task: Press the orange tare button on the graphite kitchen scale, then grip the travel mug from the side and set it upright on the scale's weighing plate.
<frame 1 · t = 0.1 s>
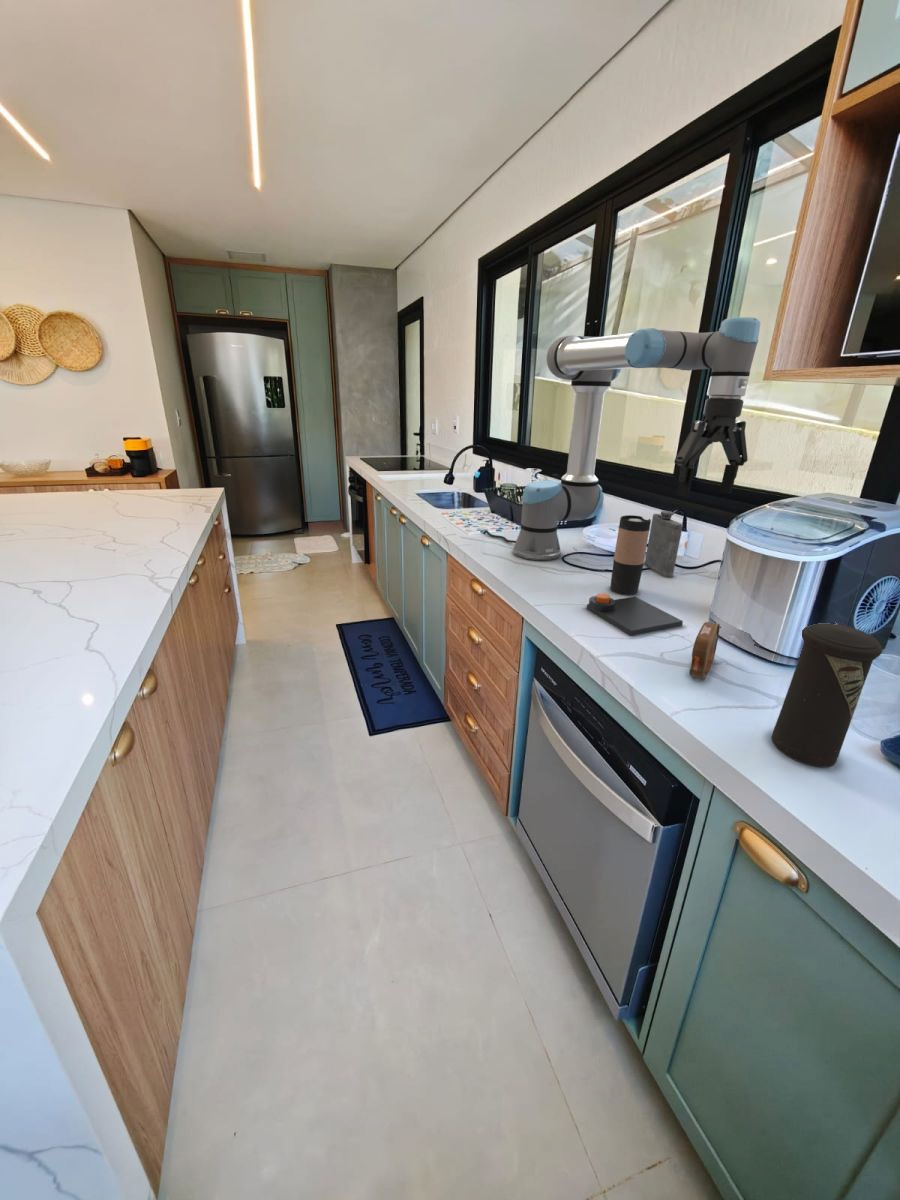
hand: (704, 494, 119), 28 cm above the countertop, tool pointing down, fingers open, 13 cm apart
scale: (632, 617, 121), on the countertop
container: (801, 750, 77), on the countertop
tare button: (602, 598, 122), point 3 cm above the countertop, slide at 0.1 cm
travel mug: (623, 591, 137), on the countertop
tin: (700, 669, 99), on the countertop
flask: (656, 570, 155), on the countertop
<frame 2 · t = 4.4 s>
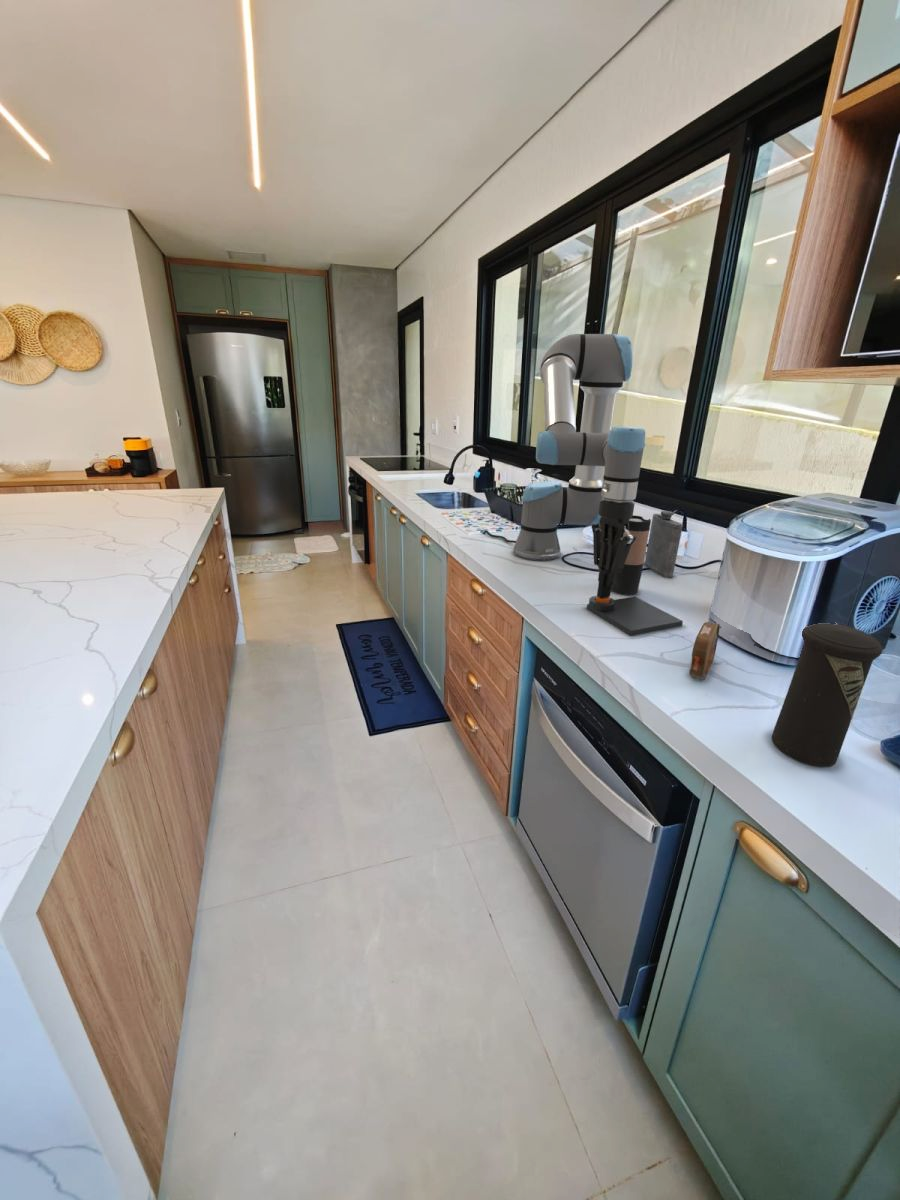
hand: (603, 596, 122), 4 cm above the countertop, tool pointing down, fingers closed
tare button: (602, 600, 123), point 3 cm above the countertop, slide at -0.2 cm, touching gripper
everything else where it was.
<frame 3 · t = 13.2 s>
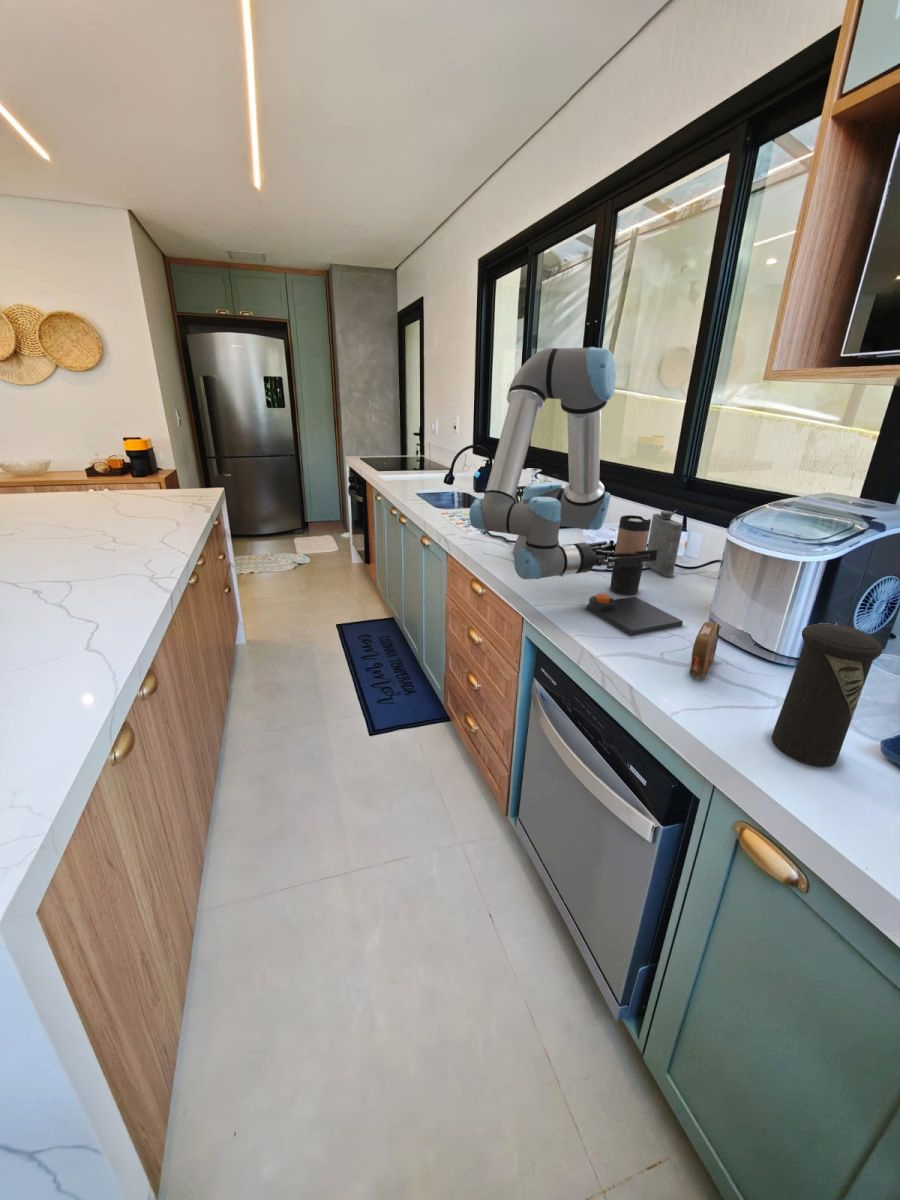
hand: (644, 550, 135), 11 cm above the countertop, tool horizontal, fingers closed on travel mug, 7 cm apart
tare button: (602, 598, 122), point 3 cm above the countertop, slide at 0.1 cm
travel mug: (623, 591, 137), on the countertop, touching gripper
everything else where it was.
when the fingers open (12 cm above the countertop, at t = 20.1 s): travel mug stays where it is, resting on scale.
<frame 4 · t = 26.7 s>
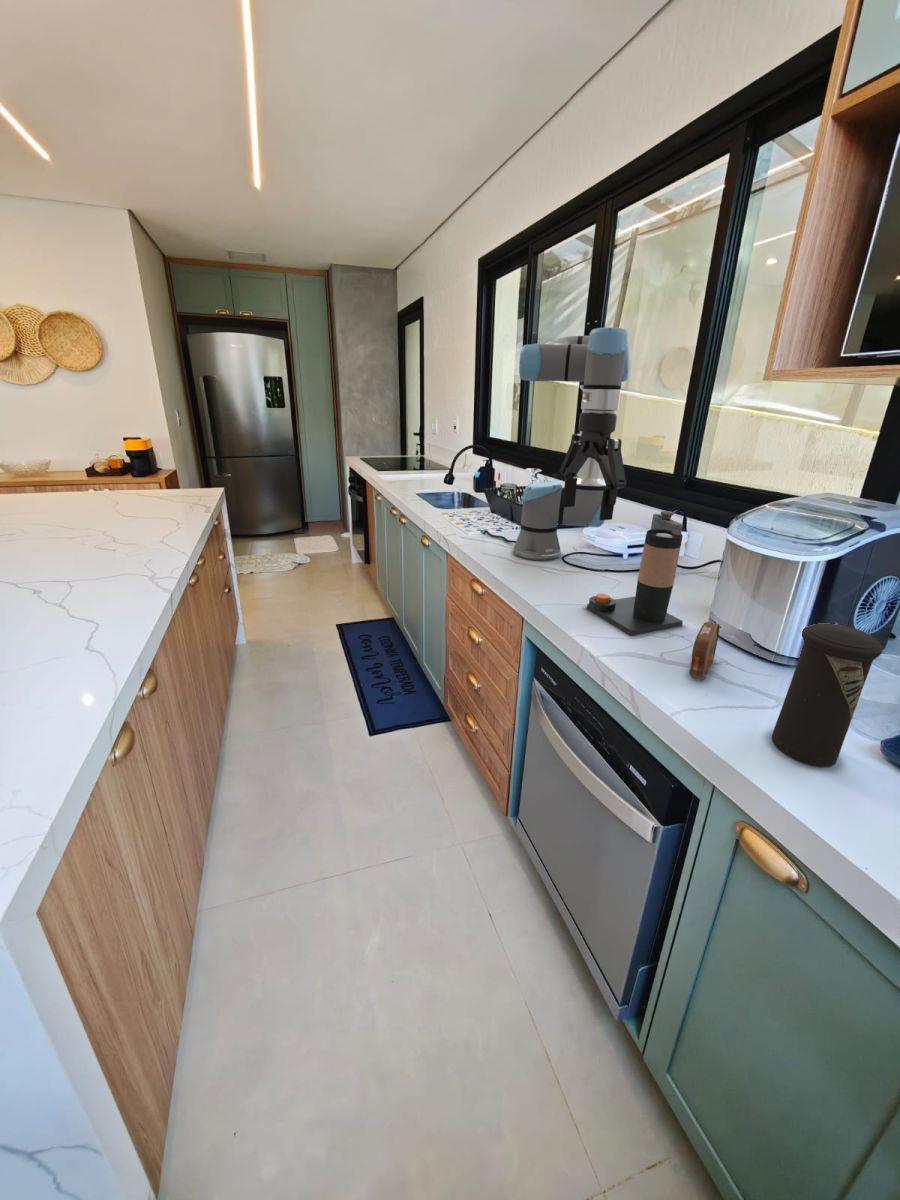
hand: (586, 512, 113), 25 cm above the countertop, tool pointing down, fingers open, 13 cm apart
travel mug: (648, 616, 119), point 1 cm above the countertop, touching scale
everything else where it was.
at the end: travel mug inside the target area on the scale (0.4 cm from its centre), point 1.2 cm above the scale's base; travel mug touching scale; travel mug tilted 0° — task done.
